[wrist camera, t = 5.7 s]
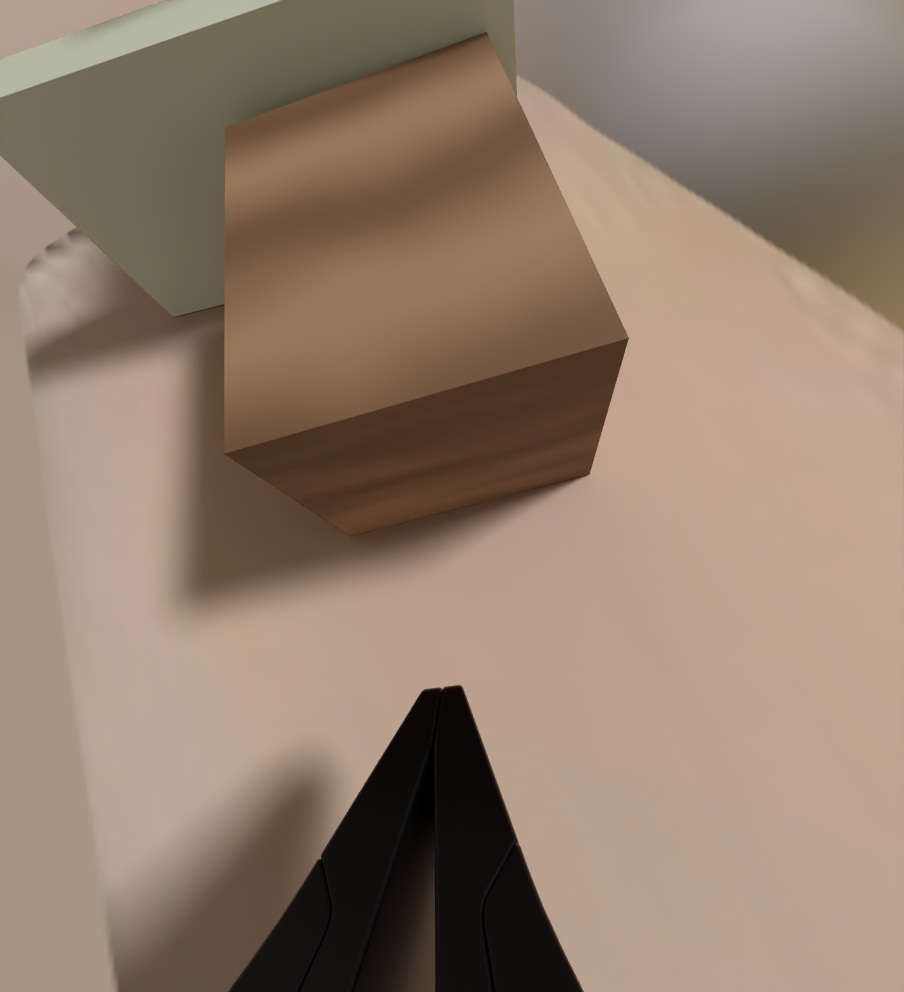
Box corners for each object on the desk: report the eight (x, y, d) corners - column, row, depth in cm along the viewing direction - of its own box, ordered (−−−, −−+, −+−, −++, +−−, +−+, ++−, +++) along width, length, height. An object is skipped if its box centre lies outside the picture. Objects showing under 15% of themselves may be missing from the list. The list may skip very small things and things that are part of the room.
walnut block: (588, 476, 17) (628, 338, 10) (352, 537, 18) (223, 453, 11) (503, 237, 22) (486, 32, 15) (323, 294, 23) (225, 127, 16)
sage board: (521, 228, 22) (510, -79, 13) (172, 317, 25) (-45, 112, 15) (511, 190, 23) (495, -119, 14) (179, 278, 26) (-21, 66, 16)
